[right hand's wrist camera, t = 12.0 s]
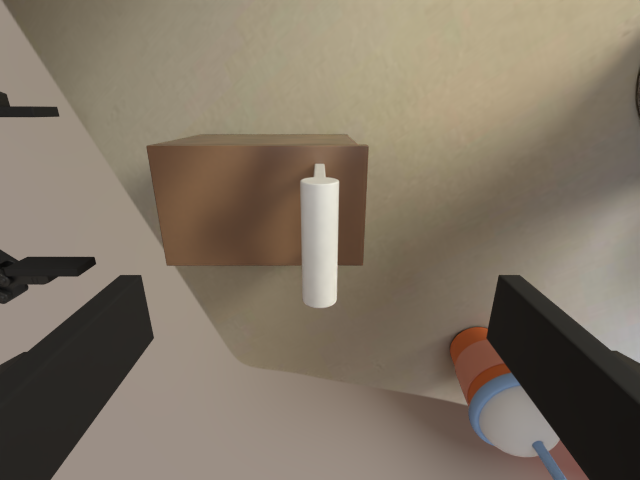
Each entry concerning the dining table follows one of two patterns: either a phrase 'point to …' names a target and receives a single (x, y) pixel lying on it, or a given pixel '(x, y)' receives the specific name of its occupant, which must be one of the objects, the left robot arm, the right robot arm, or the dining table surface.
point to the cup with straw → (500, 401)
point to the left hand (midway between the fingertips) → (68, 195)
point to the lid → (264, 208)
